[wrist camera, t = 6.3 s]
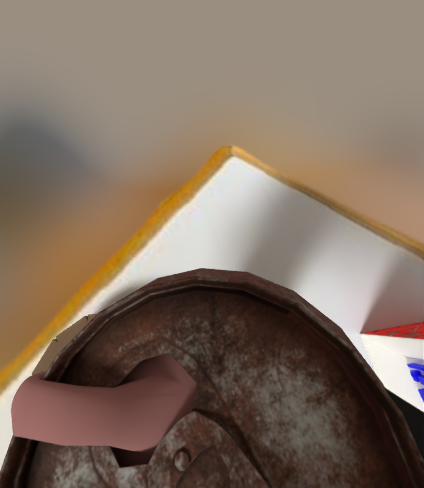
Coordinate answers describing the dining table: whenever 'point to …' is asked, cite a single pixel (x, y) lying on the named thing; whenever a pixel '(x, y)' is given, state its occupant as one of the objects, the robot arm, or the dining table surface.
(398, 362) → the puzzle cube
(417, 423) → the robot arm
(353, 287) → the dining table surface
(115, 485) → the can
